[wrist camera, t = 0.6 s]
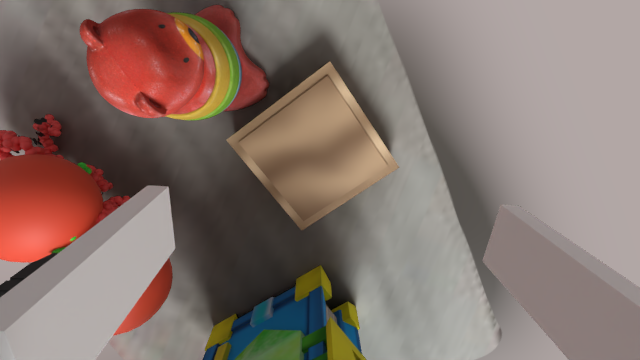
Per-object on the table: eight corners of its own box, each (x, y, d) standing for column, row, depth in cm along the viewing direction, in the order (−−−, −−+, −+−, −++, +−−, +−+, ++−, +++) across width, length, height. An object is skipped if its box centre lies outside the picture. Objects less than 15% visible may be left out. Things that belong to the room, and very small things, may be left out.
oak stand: (234, 133, 37) (225, 140, 33) (328, 62, 35) (330, 61, 31) (302, 216, 41) (301, 231, 37) (390, 158, 39) (399, 167, 35)
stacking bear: (275, 93, 36) (242, 111, 19) (202, 129, 37) (111, 178, 20) (227, -2, 32) (136, -81, 16) (149, 42, 34) (-14, 13, 17)
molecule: (219, 235, 42) (170, 321, 27) (166, 277, 44) (94, 377, 30) (64, 89, 35) (-110, 101, 21) (10, 147, 37) (-183, 195, 23)
